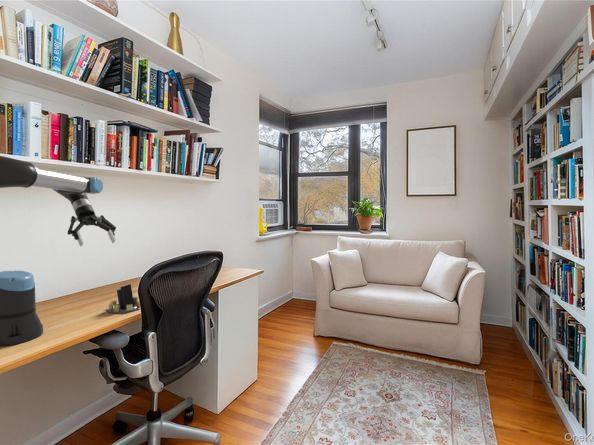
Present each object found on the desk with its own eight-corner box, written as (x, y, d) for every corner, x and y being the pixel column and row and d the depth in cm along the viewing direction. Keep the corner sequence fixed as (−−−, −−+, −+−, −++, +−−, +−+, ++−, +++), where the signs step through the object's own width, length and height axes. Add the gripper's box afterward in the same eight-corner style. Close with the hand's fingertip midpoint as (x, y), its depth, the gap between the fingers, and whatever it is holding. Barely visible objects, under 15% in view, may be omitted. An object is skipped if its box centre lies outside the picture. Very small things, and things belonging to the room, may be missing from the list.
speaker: (137, 306, 148) (134, 283, 147) (124, 310, 143) (121, 287, 143) (130, 305, 152) (127, 283, 152) (117, 308, 148) (114, 286, 148)
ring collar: (99, 313, 142) (99, 306, 142) (122, 302, 157) (122, 296, 156) (131, 314, 140) (131, 306, 140) (151, 303, 155) (151, 297, 155)
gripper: (109, 214, 170) (123, 245, 162) (51, 216, 150) (65, 251, 142) (113, 204, 167) (128, 235, 158) (54, 205, 147) (68, 239, 139)
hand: (98, 242), depth 150 cm, fingers open, 13 cm apart
